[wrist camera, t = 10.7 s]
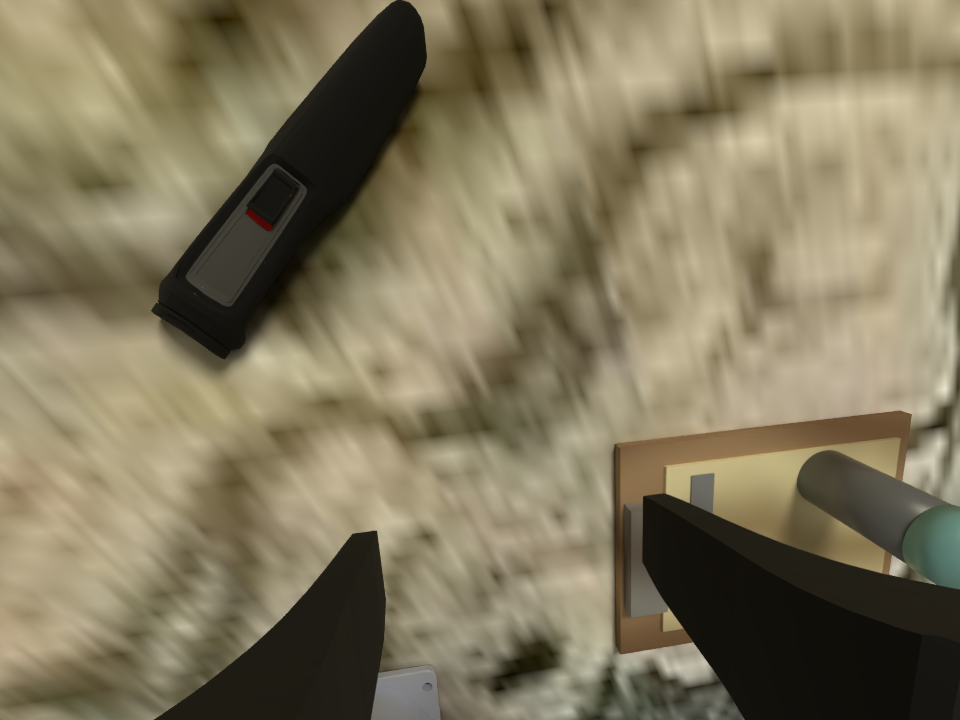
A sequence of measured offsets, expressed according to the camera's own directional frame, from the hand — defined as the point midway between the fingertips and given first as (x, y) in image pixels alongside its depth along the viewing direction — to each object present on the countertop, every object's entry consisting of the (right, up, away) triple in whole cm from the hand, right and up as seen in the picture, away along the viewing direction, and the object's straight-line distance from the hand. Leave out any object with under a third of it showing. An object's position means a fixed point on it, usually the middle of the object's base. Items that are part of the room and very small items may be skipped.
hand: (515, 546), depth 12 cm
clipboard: (+14, -4, +13) cm, 20 cm away
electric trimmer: (-9, +12, +7) cm, 16 cm away
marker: (+17, -1, +12) cm, 21 cm away
